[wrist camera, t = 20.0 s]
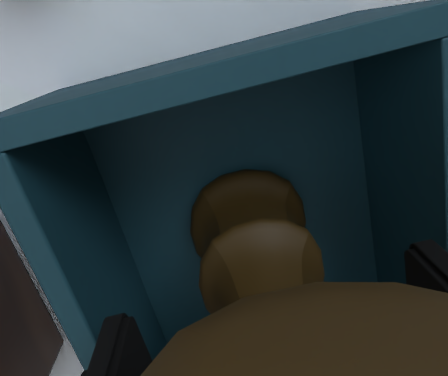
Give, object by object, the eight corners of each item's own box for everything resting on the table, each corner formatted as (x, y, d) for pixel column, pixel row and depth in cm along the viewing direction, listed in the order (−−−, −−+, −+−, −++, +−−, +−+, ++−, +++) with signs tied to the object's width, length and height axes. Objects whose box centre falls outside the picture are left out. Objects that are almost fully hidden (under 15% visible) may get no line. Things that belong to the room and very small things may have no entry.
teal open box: (56, 90, 16) (-43, 129, 9) (358, 10, 15) (475, -7, 9) (162, 352, 21) (146, 492, 15) (387, 299, 21) (472, 419, 14)
